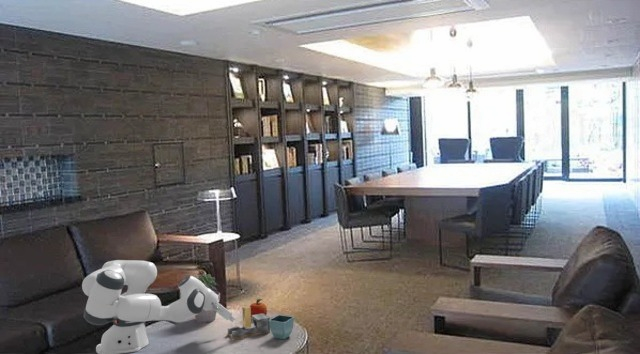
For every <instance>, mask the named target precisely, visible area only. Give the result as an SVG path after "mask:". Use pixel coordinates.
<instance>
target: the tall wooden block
mask: <svg viewBox="0 0 640 354" xmlns="http://www.w3.org/2000/svg"><path fill="white" fill-rule="evenodd" d="M241 310H242V327H243V330H248V329H253V328H257V323H252V318H251V307H250V305H245V306H242V309H241Z"/></svg>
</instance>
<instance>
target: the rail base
mask: <svg viewBox="0 0 640 354" xmlns="http://www.w3.org/2000/svg"><path fill="white" fill-rule="evenodd" d="M270 319H271V318H270V317H269V316H268V315H267V314H266V315H265V314H263V313H262V314H256V315H252V318H251V324H252V323H257V328H253V329H248V330H243V326H239V325H238V326H237V325H236V326H232V327H228V328H227V336H228V337H230V338H231V339H232V341H236V340H239V339H245V338H249V337H250V338H251V337H253V336H259V335H264V334H269V333H271V329H270V324H269V320H270Z"/></svg>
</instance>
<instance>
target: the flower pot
mask: <svg viewBox="0 0 640 354" xmlns="http://www.w3.org/2000/svg"><path fill="white" fill-rule="evenodd" d="M294 319H295V317H294V316H291V315H282V314H277V315H276V316H274V317H272V318H270V320H269V324H270V333H271V334H272V336H273V337H274V338H275V339H279V340H285V339H287V338H288V337H290V336H291V334H292V332H293V329H294V322H295V321H294Z"/></svg>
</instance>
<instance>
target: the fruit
mask: <svg viewBox="0 0 640 354" xmlns="http://www.w3.org/2000/svg"><path fill="white" fill-rule="evenodd" d="M261 301H263V299H261V298H258V299H256V302H253V303H251V304H250V305H249V307H251V319H252V315H256V314H262V313H263V314H265V315H266V316H267V313H268V309H267V308H268V307H267V305H266V304H265V303H263V302H261Z"/></svg>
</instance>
